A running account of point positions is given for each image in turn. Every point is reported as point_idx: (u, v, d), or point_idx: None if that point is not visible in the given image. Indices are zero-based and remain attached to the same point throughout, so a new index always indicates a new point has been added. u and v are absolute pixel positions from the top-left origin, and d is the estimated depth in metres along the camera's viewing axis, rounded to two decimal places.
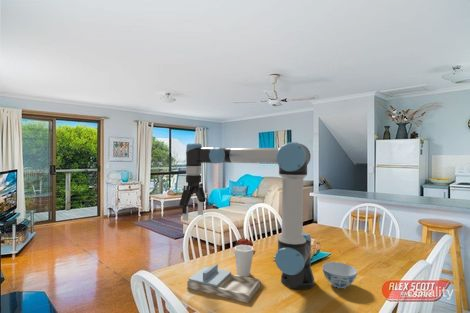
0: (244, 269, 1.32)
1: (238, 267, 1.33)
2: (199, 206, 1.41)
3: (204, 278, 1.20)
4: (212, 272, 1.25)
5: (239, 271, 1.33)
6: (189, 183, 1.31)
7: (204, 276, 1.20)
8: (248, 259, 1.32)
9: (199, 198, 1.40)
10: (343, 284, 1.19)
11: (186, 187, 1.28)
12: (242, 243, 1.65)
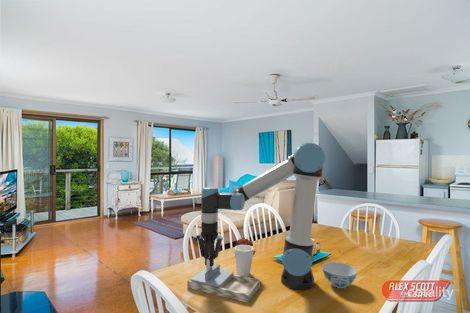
0: (244, 269, 1.32)
1: (238, 267, 1.33)
2: None
3: (206, 279, 1.19)
4: (214, 272, 1.24)
5: (239, 271, 1.33)
6: None
7: (206, 276, 1.19)
8: (248, 259, 1.32)
9: None
10: (343, 284, 1.19)
11: None
12: (242, 243, 1.65)
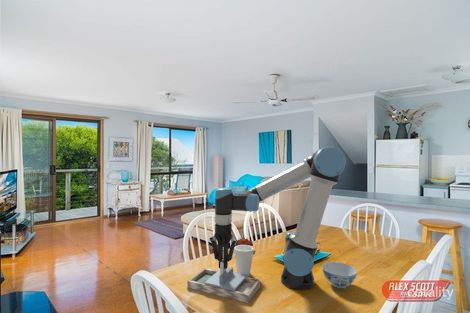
0: (244, 269, 1.32)
1: (238, 267, 1.33)
2: None
3: (221, 282, 1.16)
4: (228, 275, 1.22)
5: (239, 271, 1.33)
6: None
7: (221, 280, 1.16)
8: (248, 259, 1.32)
9: None
10: (343, 284, 1.19)
11: None
12: (242, 243, 1.65)
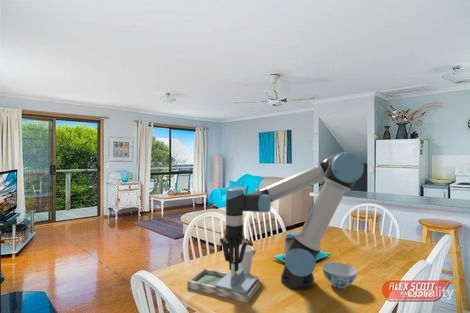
0: (244, 269, 1.32)
1: None
2: None
3: (232, 284, 1.14)
4: (239, 278, 1.19)
5: None
6: None
7: (232, 282, 1.14)
8: (248, 259, 1.32)
9: None
10: (343, 284, 1.19)
11: None
12: None
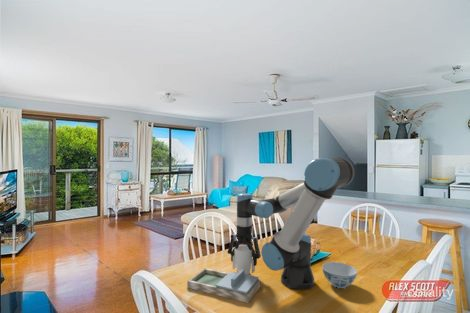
0: (244, 269, 1.32)
1: (238, 267, 1.33)
2: None
3: (232, 284, 1.14)
4: (240, 278, 1.19)
5: None
6: None
7: (232, 282, 1.14)
8: (248, 259, 1.32)
9: None
10: (343, 284, 1.19)
11: None
12: None
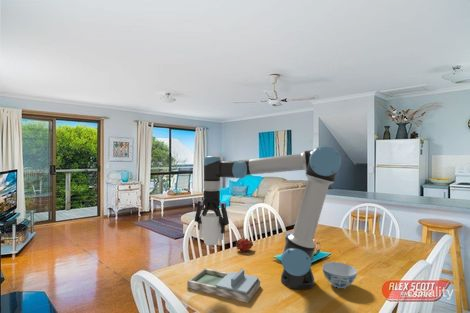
0: (210, 237, 1.21)
1: (204, 235, 1.22)
2: None
3: (232, 284, 1.14)
4: (240, 278, 1.19)
5: (205, 239, 1.22)
6: None
7: (232, 282, 1.14)
8: (215, 226, 1.21)
9: None
10: (343, 284, 1.19)
11: None
12: (242, 243, 1.65)
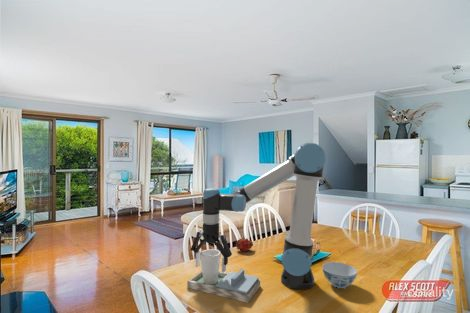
0: (210, 276, 1.21)
1: (204, 274, 1.22)
2: None
3: (232, 284, 1.14)
4: (240, 278, 1.19)
5: (205, 278, 1.22)
6: None
7: (232, 282, 1.14)
8: (214, 265, 1.21)
9: None
10: (343, 284, 1.19)
11: None
12: (242, 243, 1.65)
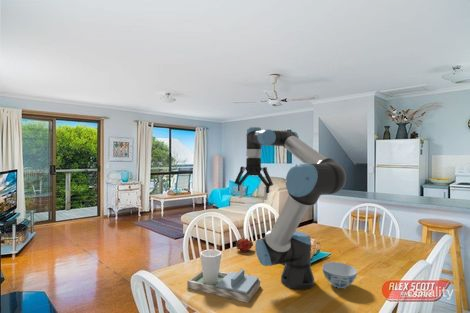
0: (210, 276, 1.21)
1: (204, 274, 1.22)
2: None
3: (232, 284, 1.14)
4: (240, 278, 1.19)
5: (205, 278, 1.22)
6: None
7: (232, 282, 1.14)
8: (215, 265, 1.21)
9: None
10: (343, 284, 1.19)
11: None
12: (242, 243, 1.65)
